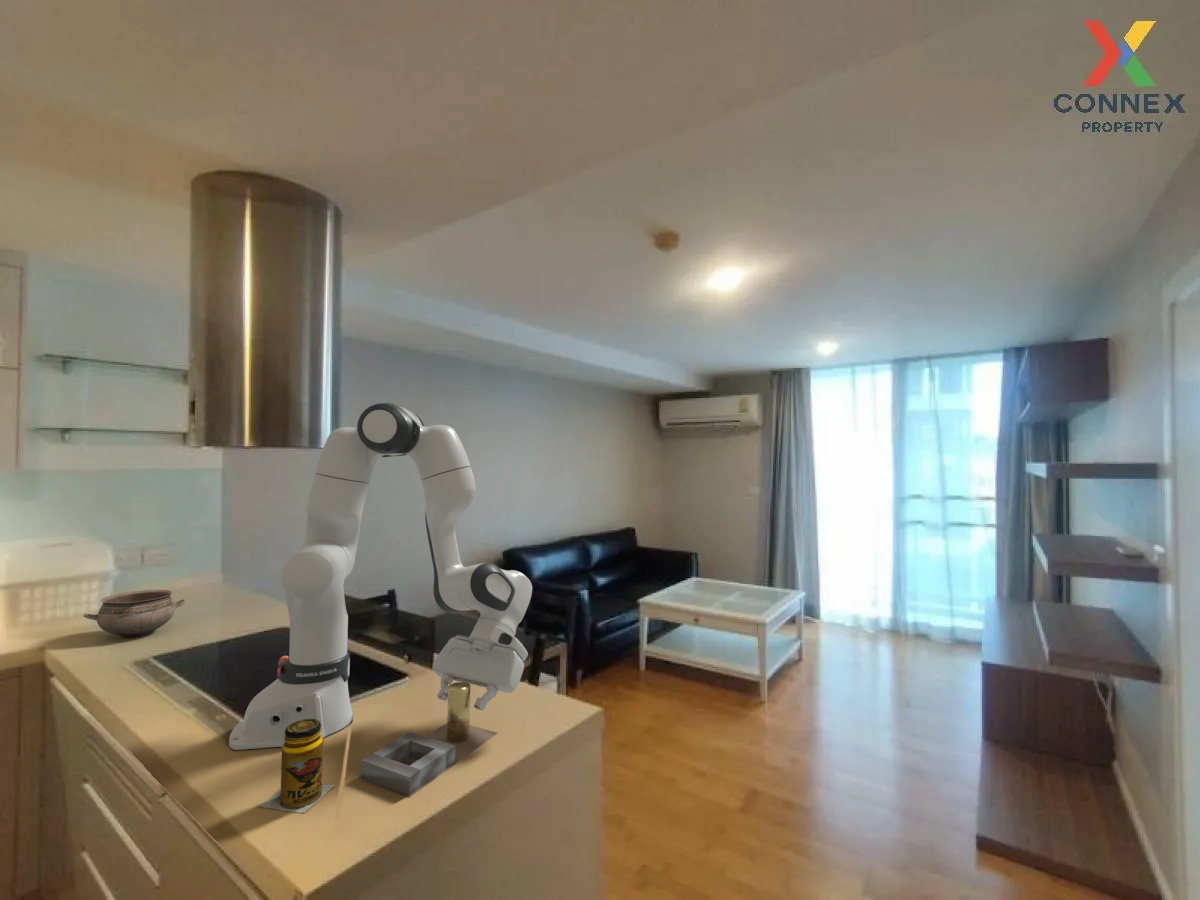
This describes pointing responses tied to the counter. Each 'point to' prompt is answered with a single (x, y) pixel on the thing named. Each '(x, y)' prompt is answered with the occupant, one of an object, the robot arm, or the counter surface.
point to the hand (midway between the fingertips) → (459, 704)
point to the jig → (418, 759)
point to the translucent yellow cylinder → (458, 712)
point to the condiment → (300, 768)
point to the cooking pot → (135, 612)
